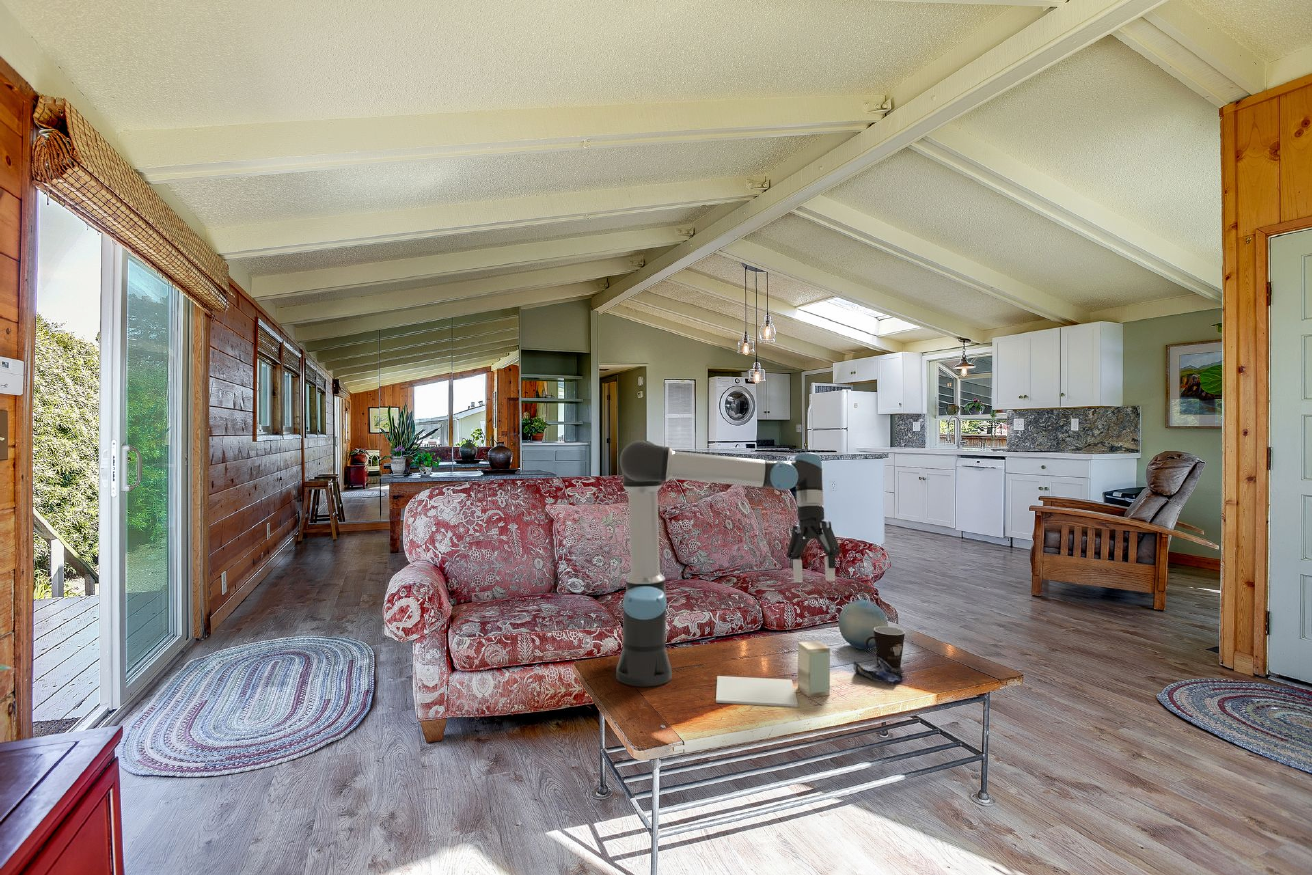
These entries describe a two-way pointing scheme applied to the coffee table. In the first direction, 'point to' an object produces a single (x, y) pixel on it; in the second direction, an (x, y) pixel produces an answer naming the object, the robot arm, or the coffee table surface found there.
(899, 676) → the snack package
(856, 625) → the decorative ball
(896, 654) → the coffee mug
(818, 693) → the birch block
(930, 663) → the coffee table surface
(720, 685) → the mat
